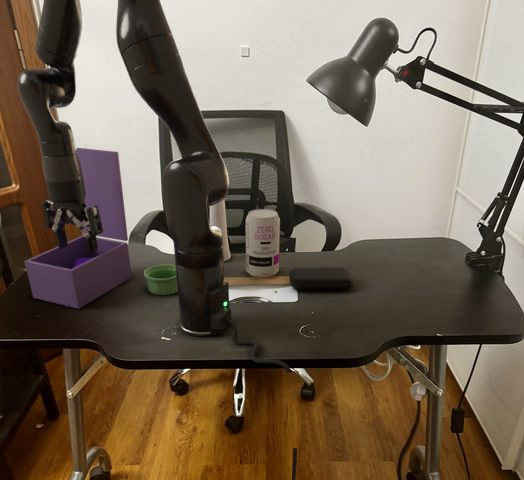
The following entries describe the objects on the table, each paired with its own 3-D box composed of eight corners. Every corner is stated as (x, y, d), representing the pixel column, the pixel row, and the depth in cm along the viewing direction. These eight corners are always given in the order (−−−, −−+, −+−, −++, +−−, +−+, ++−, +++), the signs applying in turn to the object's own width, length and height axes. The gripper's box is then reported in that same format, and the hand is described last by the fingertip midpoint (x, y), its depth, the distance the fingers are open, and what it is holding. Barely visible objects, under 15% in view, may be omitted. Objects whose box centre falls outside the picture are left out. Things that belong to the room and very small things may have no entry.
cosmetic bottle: (216, 263, 135) (212, 177, 124) (203, 256, 139) (198, 172, 128) (235, 258, 139) (233, 173, 127) (222, 251, 143) (218, 169, 131)
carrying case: (346, 274, 129) (287, 275, 129) (347, 263, 128) (287, 263, 127) (354, 293, 120) (290, 293, 120) (355, 280, 119) (291, 281, 118)
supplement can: (265, 263, 135) (265, 206, 128) (285, 273, 130) (287, 214, 122) (239, 270, 131) (238, 212, 123) (259, 281, 126) (259, 220, 118)
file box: (79, 308, 113) (71, 271, 108) (33, 297, 117) (24, 261, 113) (132, 276, 128) (127, 242, 123) (89, 268, 132) (83, 234, 128)
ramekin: (180, 278, 127) (178, 261, 124) (188, 293, 120) (187, 276, 117) (143, 283, 124) (141, 266, 122) (149, 299, 117) (147, 281, 115)
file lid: (116, 152, 113) (130, 149, 117) (68, 147, 117) (84, 144, 121) (126, 241, 122) (139, 235, 127) (82, 233, 127) (96, 228, 131)
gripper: (24, 176, 109) (41, 250, 117) (78, 183, 104) (92, 259, 112) (50, 169, 115) (65, 240, 123) (102, 175, 110) (114, 248, 118)
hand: (78, 249), depth 118 cm, fingers open, 8 cm apart
